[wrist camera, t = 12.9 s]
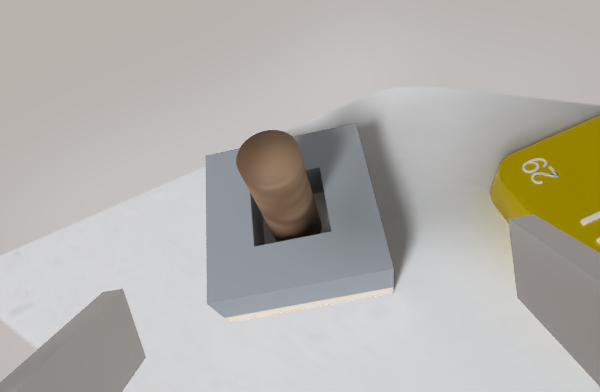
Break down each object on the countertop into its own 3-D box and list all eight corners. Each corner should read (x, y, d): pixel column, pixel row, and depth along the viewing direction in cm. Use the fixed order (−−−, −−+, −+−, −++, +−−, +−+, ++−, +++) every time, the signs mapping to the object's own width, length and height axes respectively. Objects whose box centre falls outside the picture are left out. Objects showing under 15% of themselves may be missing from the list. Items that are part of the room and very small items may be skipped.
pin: (317, 202, 39) (295, 124, 30) (325, 245, 37) (303, 175, 27) (271, 211, 39) (234, 137, 30) (275, 254, 37) (237, 188, 28)
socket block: (359, 158, 43) (355, 123, 38) (393, 293, 35) (393, 268, 30) (225, 187, 44) (205, 155, 39) (230, 322, 36) (207, 303, 32)
